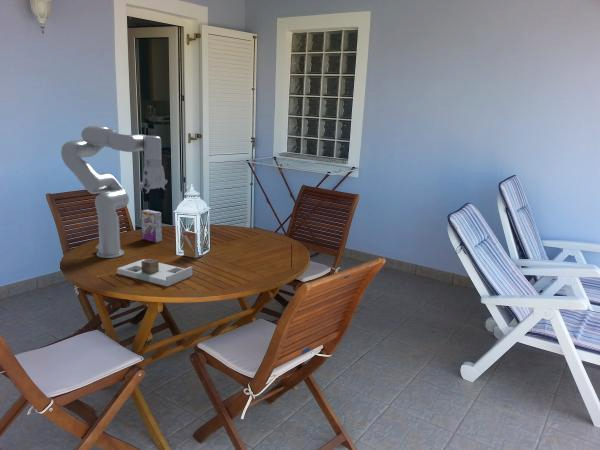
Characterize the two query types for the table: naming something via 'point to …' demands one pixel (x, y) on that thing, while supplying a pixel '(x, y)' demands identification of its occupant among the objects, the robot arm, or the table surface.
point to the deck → (163, 276)
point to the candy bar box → (151, 225)
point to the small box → (191, 244)
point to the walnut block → (150, 266)
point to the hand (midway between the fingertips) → (154, 199)
